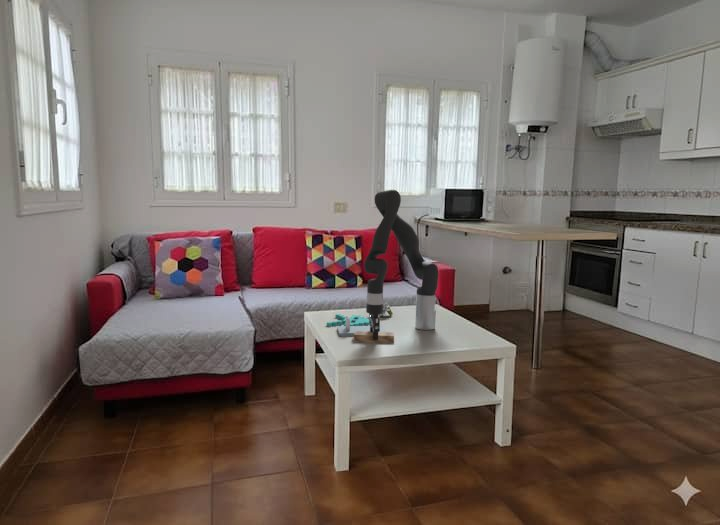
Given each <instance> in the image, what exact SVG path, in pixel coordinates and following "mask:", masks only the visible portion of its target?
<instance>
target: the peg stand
mask: <svg viewBox="0 0 720 525" xmlns="http://www.w3.org/2000/svg"><path fill="white" fill-rule="evenodd" d="M345 317H346V326H344V325H337V326H336V330H337V333H338V336H339V337H354V332H355V331H366V332H370V327H371V326H370V325H369V326H350V316H349V315H346V316H345ZM375 329H377V327H375ZM379 332H387V331H386V330H385V328H384V327H383V326H382V325H380V331H379Z"/></svg>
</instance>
